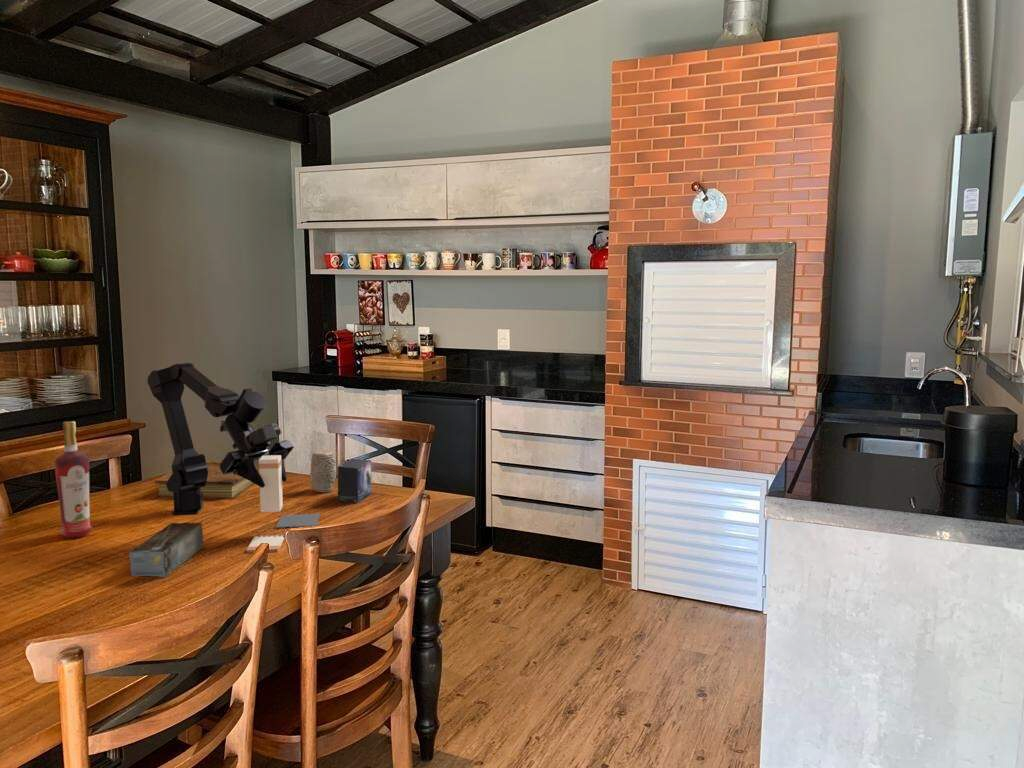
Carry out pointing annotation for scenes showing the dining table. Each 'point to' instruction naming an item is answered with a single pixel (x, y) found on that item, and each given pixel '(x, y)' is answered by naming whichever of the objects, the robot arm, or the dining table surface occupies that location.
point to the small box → (354, 480)
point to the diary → (212, 485)
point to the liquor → (73, 486)
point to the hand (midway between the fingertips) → (274, 483)
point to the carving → (322, 471)
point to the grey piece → (166, 550)
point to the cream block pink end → (271, 540)
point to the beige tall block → (271, 483)
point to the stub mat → (298, 520)
